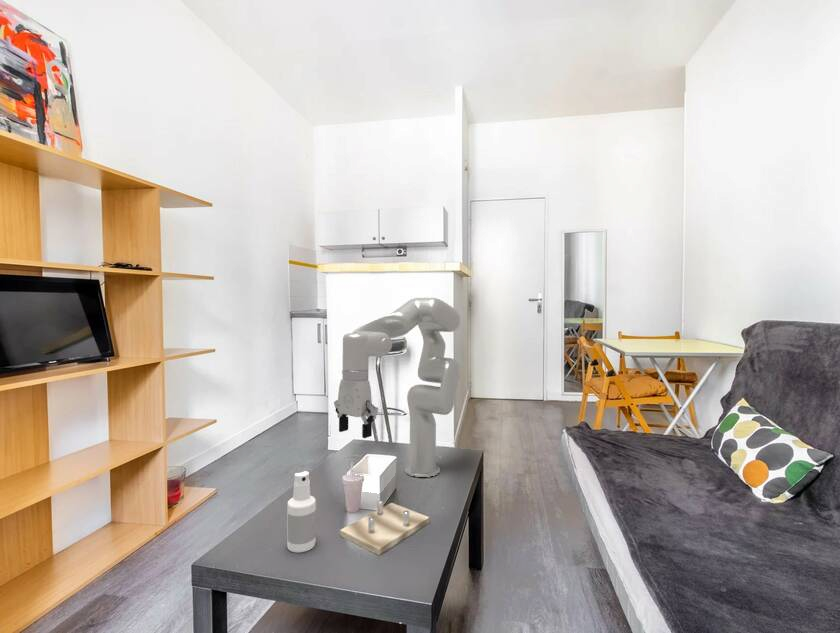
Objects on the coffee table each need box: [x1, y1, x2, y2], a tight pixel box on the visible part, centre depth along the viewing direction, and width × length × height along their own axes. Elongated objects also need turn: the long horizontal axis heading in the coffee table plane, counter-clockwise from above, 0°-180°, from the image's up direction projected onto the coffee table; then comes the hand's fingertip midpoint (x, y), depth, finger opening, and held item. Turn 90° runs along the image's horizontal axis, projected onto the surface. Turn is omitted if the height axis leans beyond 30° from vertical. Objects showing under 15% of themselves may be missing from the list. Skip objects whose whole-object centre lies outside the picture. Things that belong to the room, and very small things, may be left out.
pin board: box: [339, 500, 430, 556], centre depth 112 cm, size 20×14×5 cm
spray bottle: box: [286, 470, 317, 554], centre depth 104 cm, size 7×7×18 cm
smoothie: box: [341, 462, 365, 513], centre depth 123 cm, size 6×6×14 cm
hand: (355, 433), depth 123 cm, fingers open, 9 cm apart
